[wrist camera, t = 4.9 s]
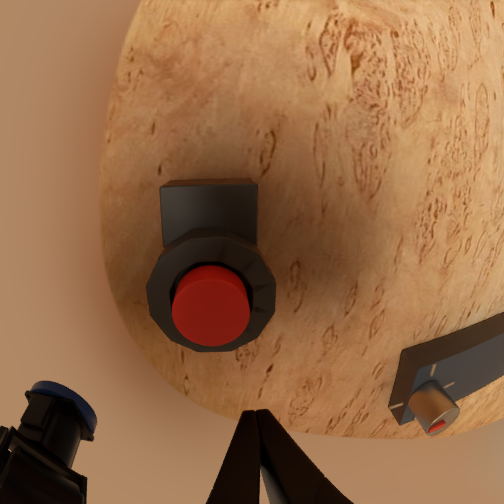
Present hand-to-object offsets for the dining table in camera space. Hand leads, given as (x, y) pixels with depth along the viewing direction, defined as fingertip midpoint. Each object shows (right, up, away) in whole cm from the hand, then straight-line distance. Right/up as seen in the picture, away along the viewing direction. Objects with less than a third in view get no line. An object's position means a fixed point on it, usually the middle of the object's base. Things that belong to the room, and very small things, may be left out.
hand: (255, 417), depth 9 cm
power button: (-2, +3, +6) cm, 7 cm away
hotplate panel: (+22, -6, +17) cm, 28 cm away
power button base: (-3, +6, +10) cm, 12 cm away
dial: (+16, -8, +14) cm, 23 cm away
